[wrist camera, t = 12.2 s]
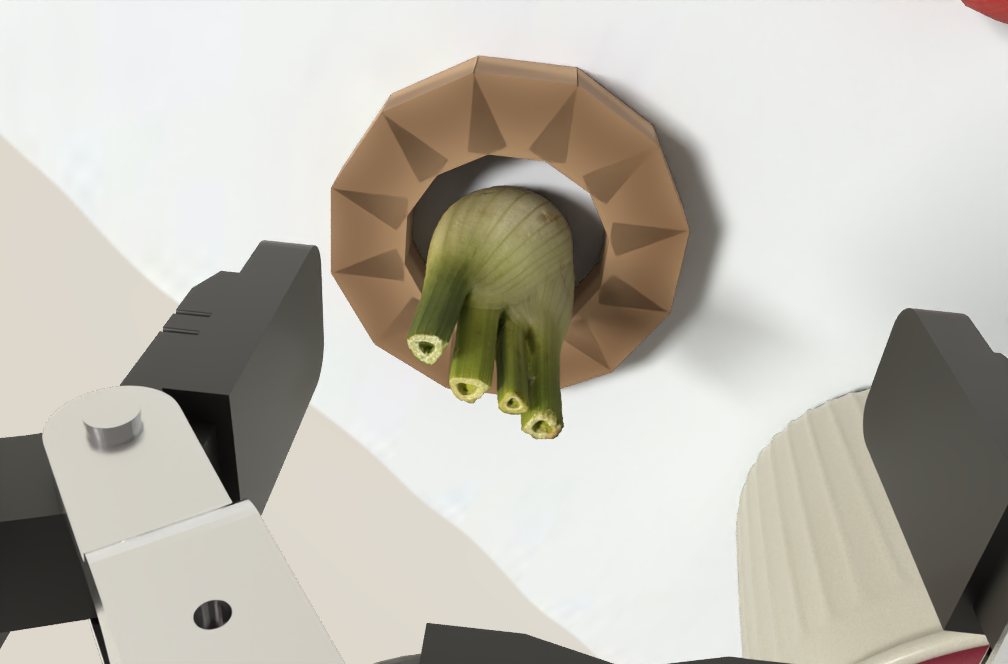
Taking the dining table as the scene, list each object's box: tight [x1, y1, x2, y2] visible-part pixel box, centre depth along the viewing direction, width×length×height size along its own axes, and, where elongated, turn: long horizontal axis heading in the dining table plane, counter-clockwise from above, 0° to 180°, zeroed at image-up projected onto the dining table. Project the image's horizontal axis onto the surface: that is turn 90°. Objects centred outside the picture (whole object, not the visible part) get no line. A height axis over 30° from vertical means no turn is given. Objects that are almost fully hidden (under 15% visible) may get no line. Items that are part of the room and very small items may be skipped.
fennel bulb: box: [406, 186, 575, 439], centre depth 33 cm, size 6×5×12 cm
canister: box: [736, 388, 990, 664], centre depth 35 cm, size 18×18×21 cm
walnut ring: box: [331, 56, 690, 394], centre depth 37 cm, size 14×14×2 cm
